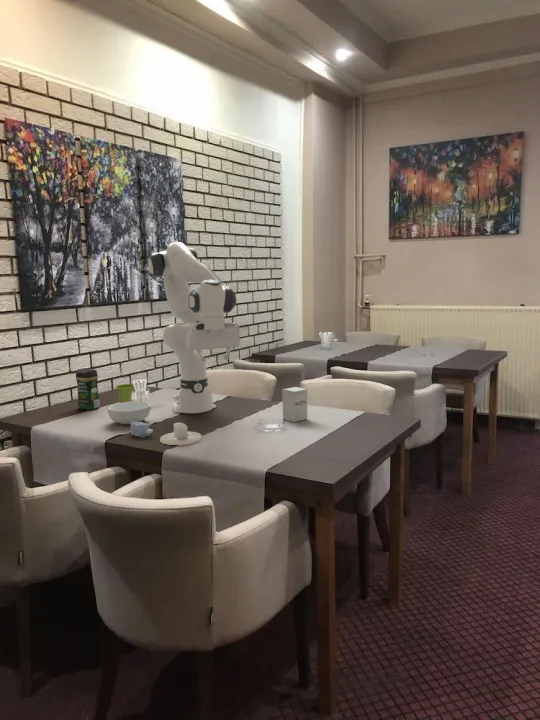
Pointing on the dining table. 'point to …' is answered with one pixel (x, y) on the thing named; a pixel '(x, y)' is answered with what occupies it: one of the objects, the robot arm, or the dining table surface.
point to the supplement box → (294, 404)
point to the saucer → (171, 440)
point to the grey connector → (180, 431)
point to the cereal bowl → (129, 412)
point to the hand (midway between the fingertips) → (214, 360)
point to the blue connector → (140, 429)
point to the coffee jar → (87, 389)
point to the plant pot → (124, 392)
